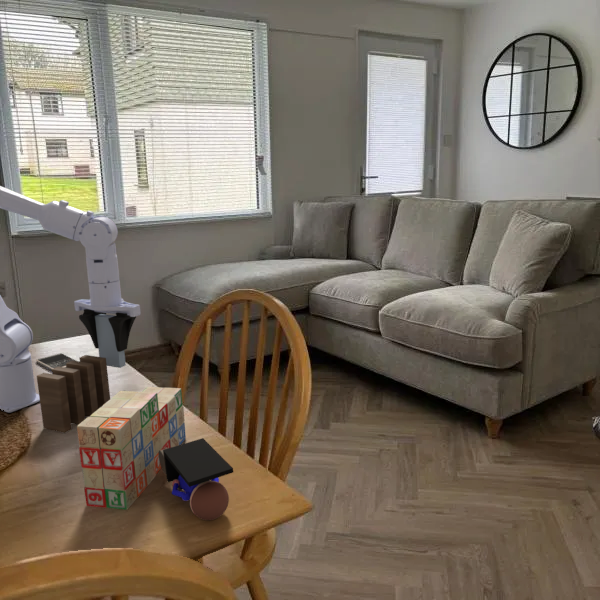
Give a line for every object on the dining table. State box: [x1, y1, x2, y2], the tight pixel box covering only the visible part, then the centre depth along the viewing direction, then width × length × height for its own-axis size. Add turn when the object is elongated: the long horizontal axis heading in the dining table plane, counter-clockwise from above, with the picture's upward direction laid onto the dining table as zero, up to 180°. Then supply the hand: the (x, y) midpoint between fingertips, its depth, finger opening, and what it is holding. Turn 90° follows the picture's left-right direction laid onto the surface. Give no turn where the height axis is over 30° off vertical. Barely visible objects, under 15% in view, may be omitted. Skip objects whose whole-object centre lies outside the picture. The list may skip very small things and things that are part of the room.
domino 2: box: [51, 366, 86, 426], centre depth 108 cm, size 2×5×10 cm, turn 66°
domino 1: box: [36, 372, 72, 434], centre depth 105 cm, size 2×5×10 cm, turn 66°
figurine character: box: [159, 437, 234, 521], centre depth 83 cm, size 7×8×15 cm
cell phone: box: [35, 353, 77, 372], centre depth 139 cm, size 6×11×1 cm, turn 45°
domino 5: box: [95, 314, 126, 369], centre depth 117 cm, size 2×5×10 cm, turn 66°
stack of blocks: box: [76, 386, 187, 511], centre depth 90 cm, size 21×6×12 cm, turn 169°
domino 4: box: [79, 354, 111, 409], centre depth 114 cm, size 2×5×10 cm, turn 66°
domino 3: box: [66, 360, 98, 418], centre depth 111 cm, size 2×5×10 cm, turn 66°
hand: (111, 348), depth 117 cm, fingers closed on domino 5, 5 cm apart
